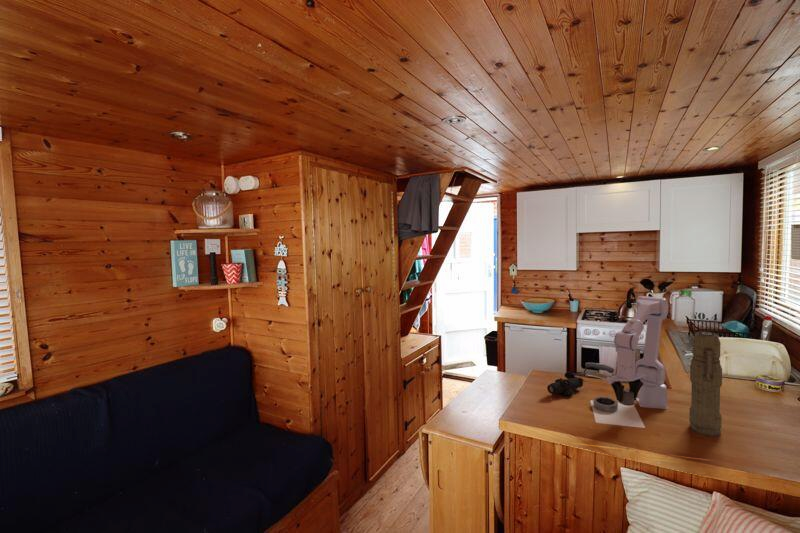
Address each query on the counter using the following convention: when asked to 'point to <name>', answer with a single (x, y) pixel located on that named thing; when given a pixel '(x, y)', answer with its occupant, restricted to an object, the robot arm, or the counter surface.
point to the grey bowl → (605, 404)
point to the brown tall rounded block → (706, 385)
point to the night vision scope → (565, 385)
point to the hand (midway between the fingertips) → (626, 399)
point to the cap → (628, 397)
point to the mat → (619, 416)
